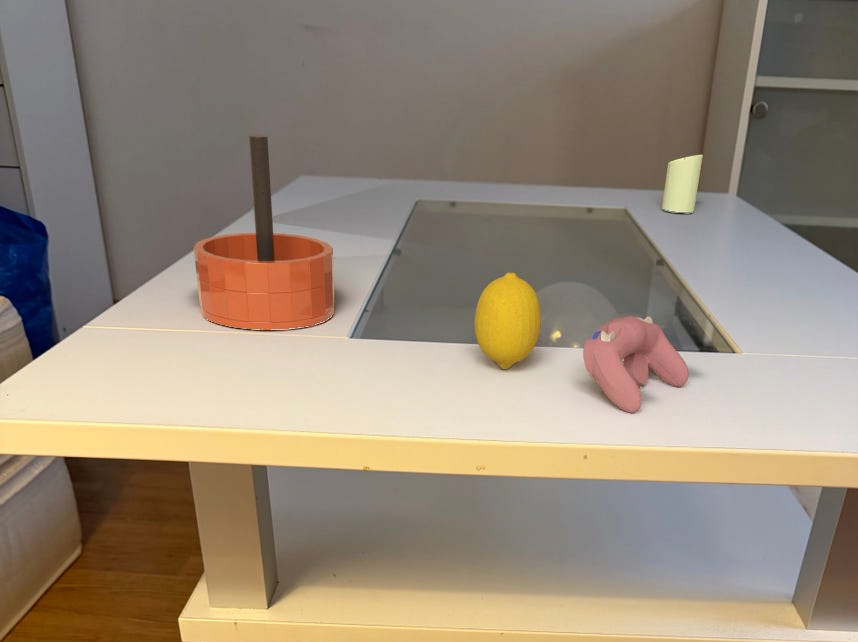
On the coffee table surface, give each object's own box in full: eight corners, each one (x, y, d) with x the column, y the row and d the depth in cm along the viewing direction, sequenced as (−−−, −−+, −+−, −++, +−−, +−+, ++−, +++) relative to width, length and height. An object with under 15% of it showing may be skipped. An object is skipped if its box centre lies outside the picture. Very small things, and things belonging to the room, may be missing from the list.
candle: (658, 211, 152) (666, 153, 147) (665, 207, 156) (674, 149, 151) (689, 215, 150) (699, 156, 146) (696, 211, 154) (706, 153, 150)
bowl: (212, 334, 88) (205, 265, 85) (192, 298, 98) (185, 234, 94) (349, 327, 92) (347, 260, 89) (316, 292, 102) (314, 231, 99)
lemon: (462, 361, 85) (466, 266, 81) (520, 356, 87) (527, 263, 83) (488, 382, 81) (493, 282, 77) (547, 376, 83) (556, 279, 79)
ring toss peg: (247, 311, 92) (234, 139, 84) (238, 298, 96) (224, 131, 88) (300, 309, 94) (292, 140, 86) (288, 295, 97) (280, 132, 89)
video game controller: (648, 393, 86) (626, 313, 84) (695, 381, 82) (673, 298, 81) (591, 424, 79) (565, 337, 77) (639, 412, 76) (614, 321, 74)
